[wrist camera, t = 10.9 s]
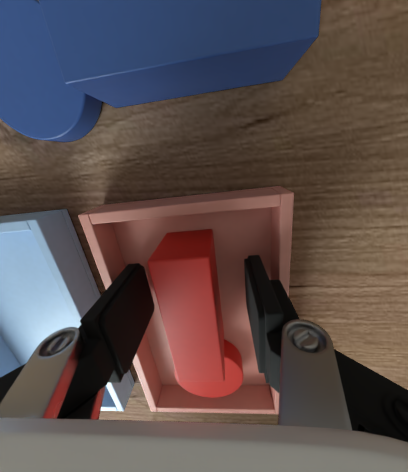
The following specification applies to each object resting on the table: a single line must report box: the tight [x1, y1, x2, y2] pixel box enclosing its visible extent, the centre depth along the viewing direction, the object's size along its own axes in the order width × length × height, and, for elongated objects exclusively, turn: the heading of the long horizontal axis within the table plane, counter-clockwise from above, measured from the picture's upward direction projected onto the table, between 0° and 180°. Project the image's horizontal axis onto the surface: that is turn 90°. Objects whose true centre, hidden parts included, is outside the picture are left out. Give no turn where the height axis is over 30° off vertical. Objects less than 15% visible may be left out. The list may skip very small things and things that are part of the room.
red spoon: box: [147, 229, 243, 398], centre depth 11 cm, size 12×4×3 cm, turn 7°
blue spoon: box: [0, 0, 321, 142], centre depth 6 cm, size 12×4×3 cm, turn 97°
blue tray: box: [0, 209, 135, 411], centre depth 13 cm, size 9×14×2 cm, turn 7°
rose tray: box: [78, 186, 294, 414], centre depth 11 cm, size 9×14×2 cm, turn 7°
